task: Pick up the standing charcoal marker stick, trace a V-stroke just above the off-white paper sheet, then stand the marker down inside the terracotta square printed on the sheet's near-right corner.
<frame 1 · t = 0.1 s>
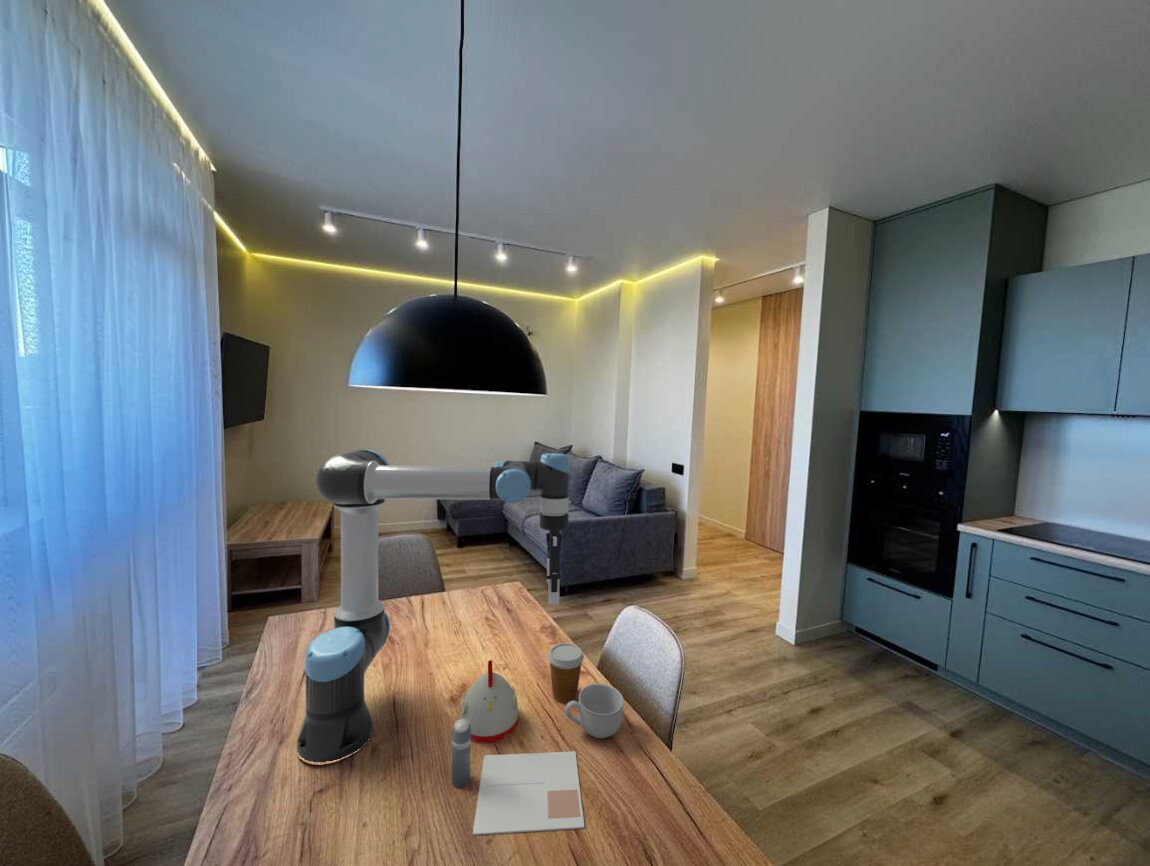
hand: (552, 592, 117), 28 cm above the table, fingers open, 13 cm apart
marker: (460, 780, 91), on the table
disposable coffee cup: (564, 696, 119), on the table
paper: (529, 789, 89), on the table
teacup: (593, 730, 106), on the table
kitchen timer: (489, 723, 108), on the table
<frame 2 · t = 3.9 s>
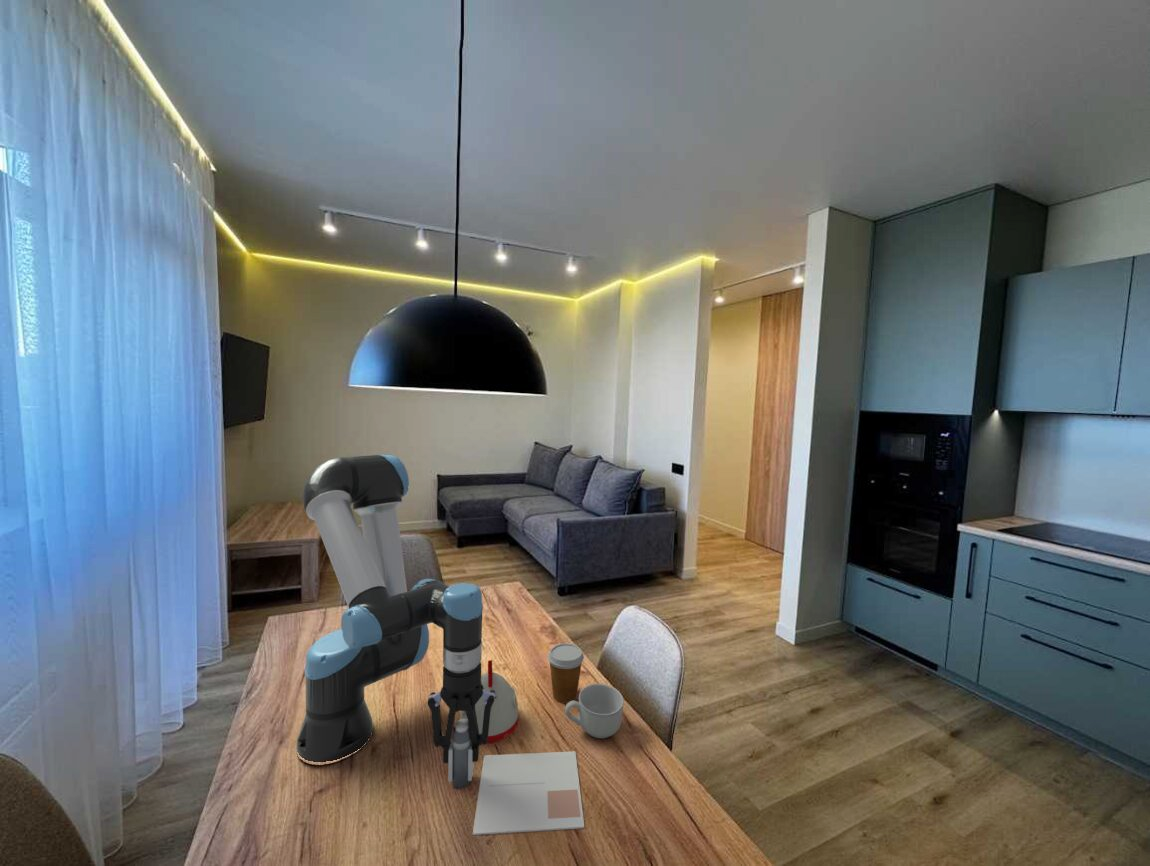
hand: (461, 775, 91), 1 cm above the table, fingers closed on marker, 3 cm apart
marker: (461, 780, 91), on the table, touching gripper
everything else where it was.
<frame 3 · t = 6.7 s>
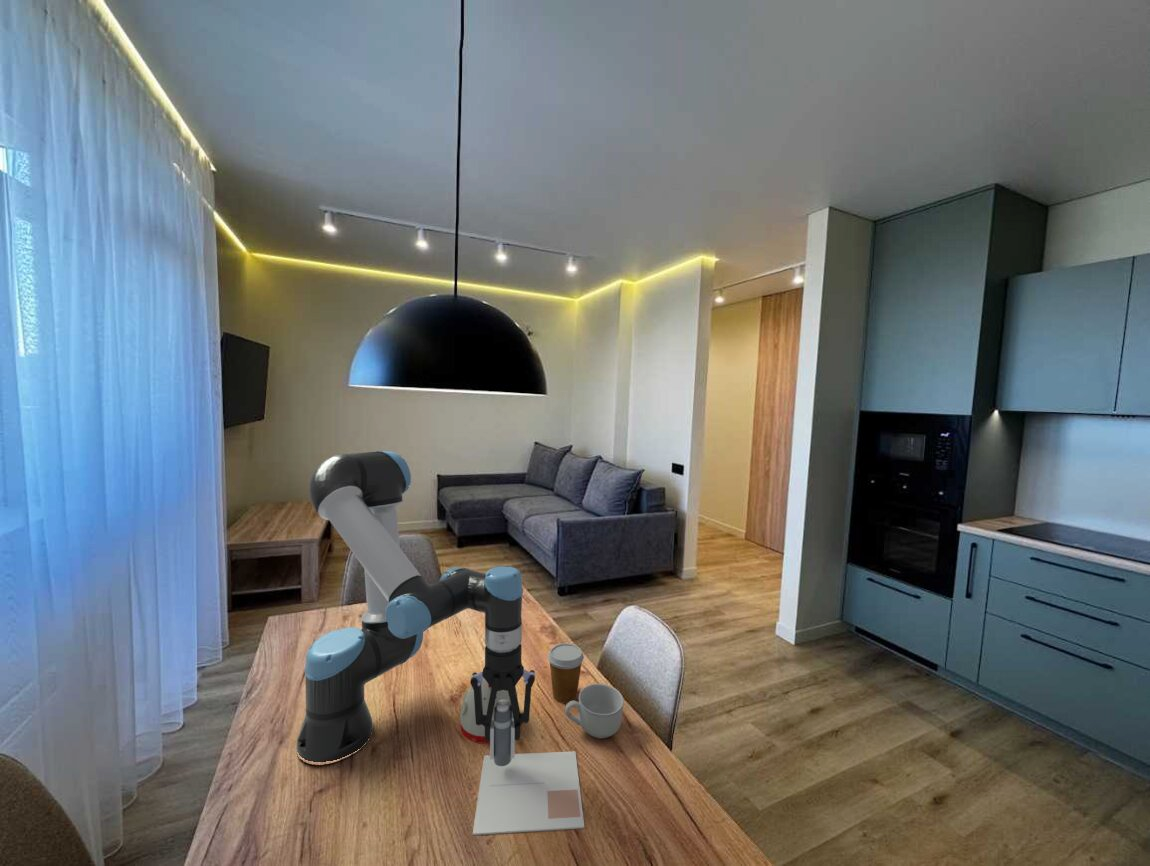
hand: (502, 753, 93), 4 cm above the table, fingers closed on marker, 3 cm apart
marker: (502, 759, 93), point 3 cm above the table, touching gripper
everything else where it was.
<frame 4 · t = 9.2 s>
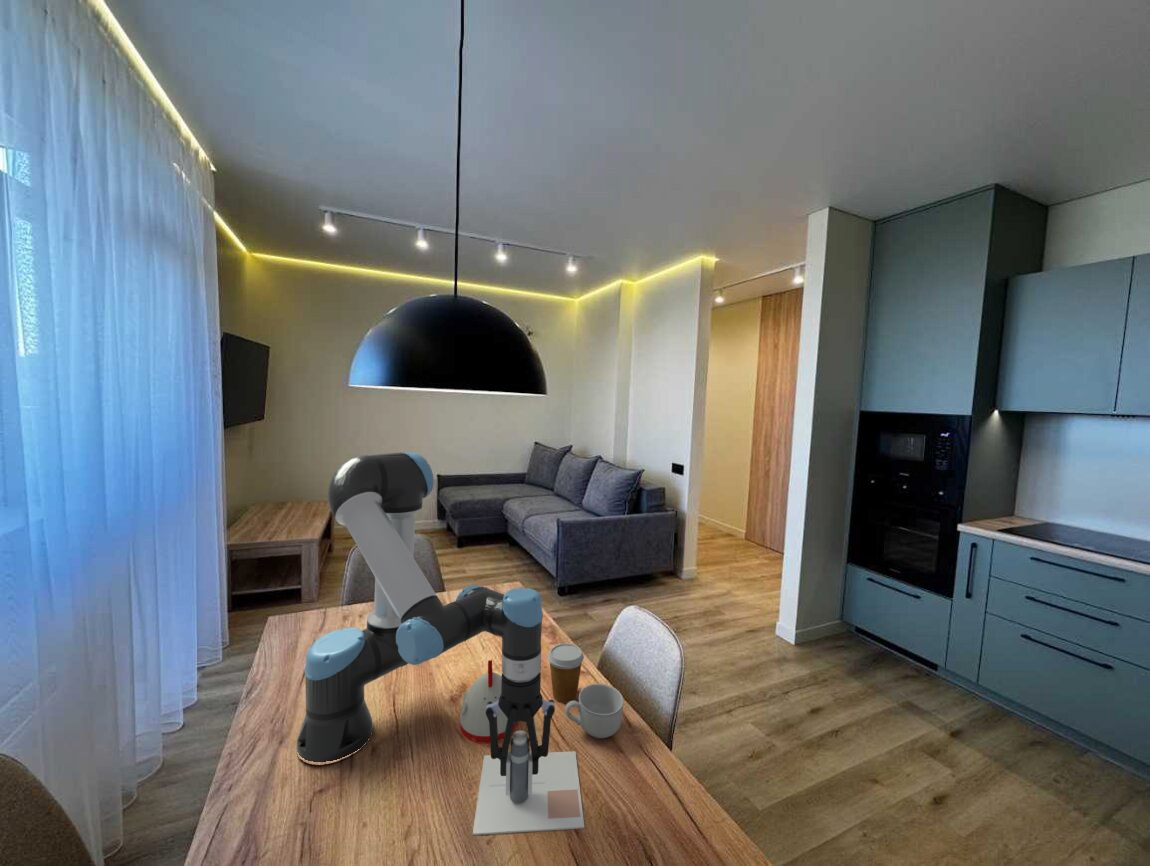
hand: (519, 788, 87), 2 cm above the table, fingers closed on marker, 3 cm apart
marker: (519, 795, 87), point 1 cm above the table, touching gripper
everything else where it was.
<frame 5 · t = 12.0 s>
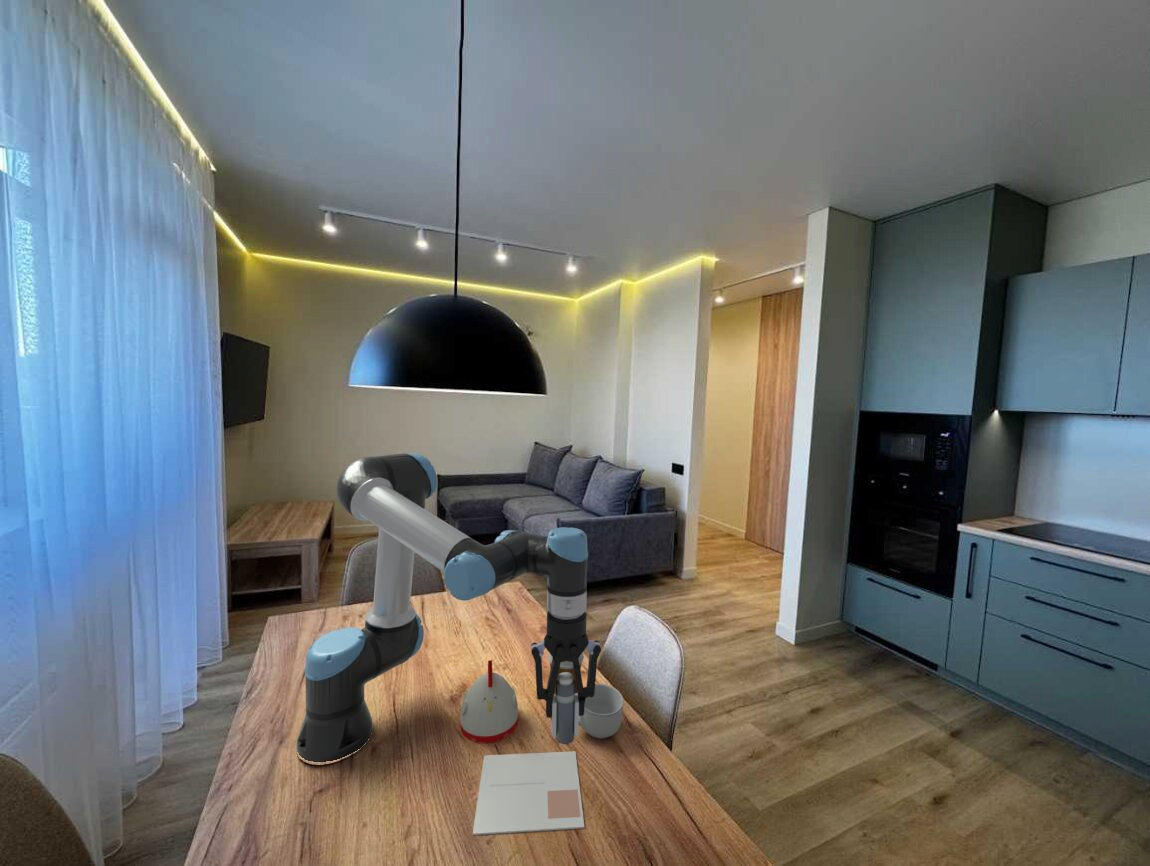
hand: (564, 731, 85), 14 cm above the table, fingers closed on marker, 3 cm apart
marker: (564, 737, 85), point 13 cm above the table, touching gripper
everything else where it was.
when the fingers open (2 cm above the table, at t = 14.5 s): marker stays where it is, resting on paper.
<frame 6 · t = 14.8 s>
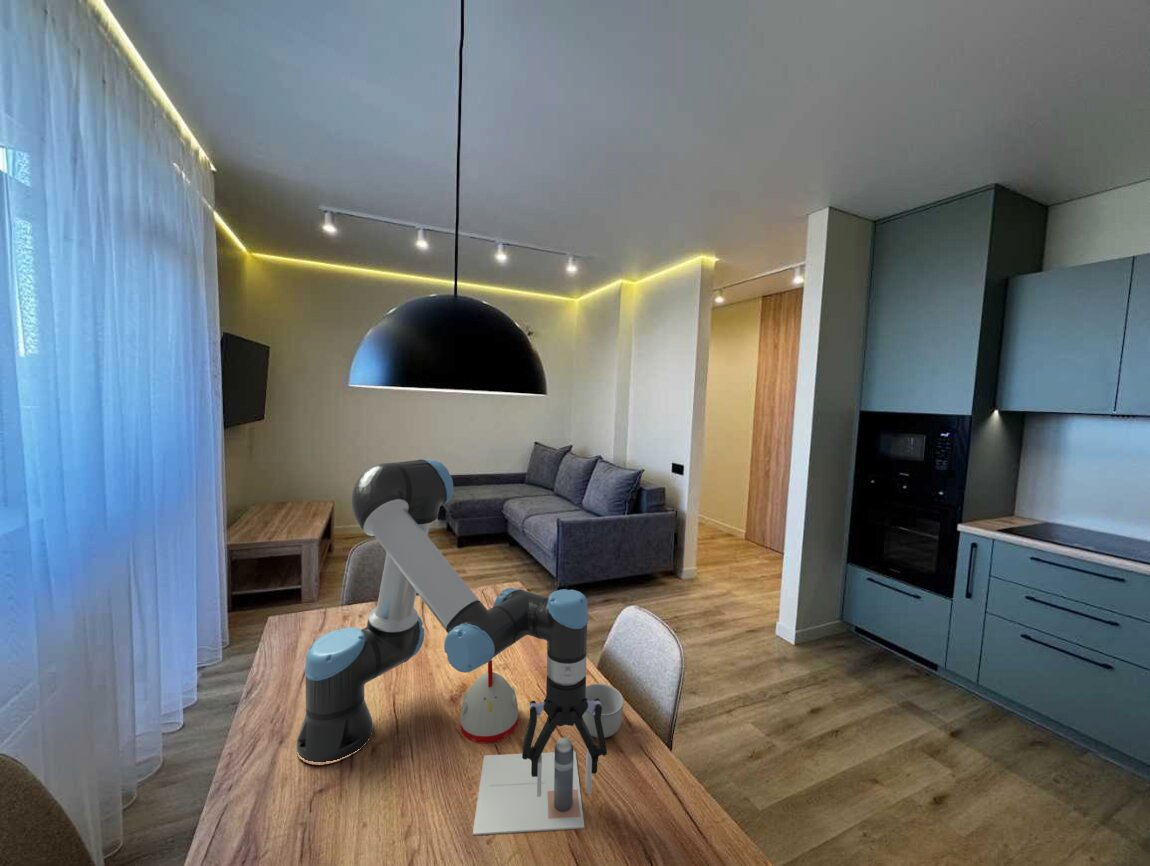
hand: (563, 789, 85), 3 cm above the table, fingers open, 9 cm apart
marker: (563, 803, 85), resting on paper
everything else where it was.
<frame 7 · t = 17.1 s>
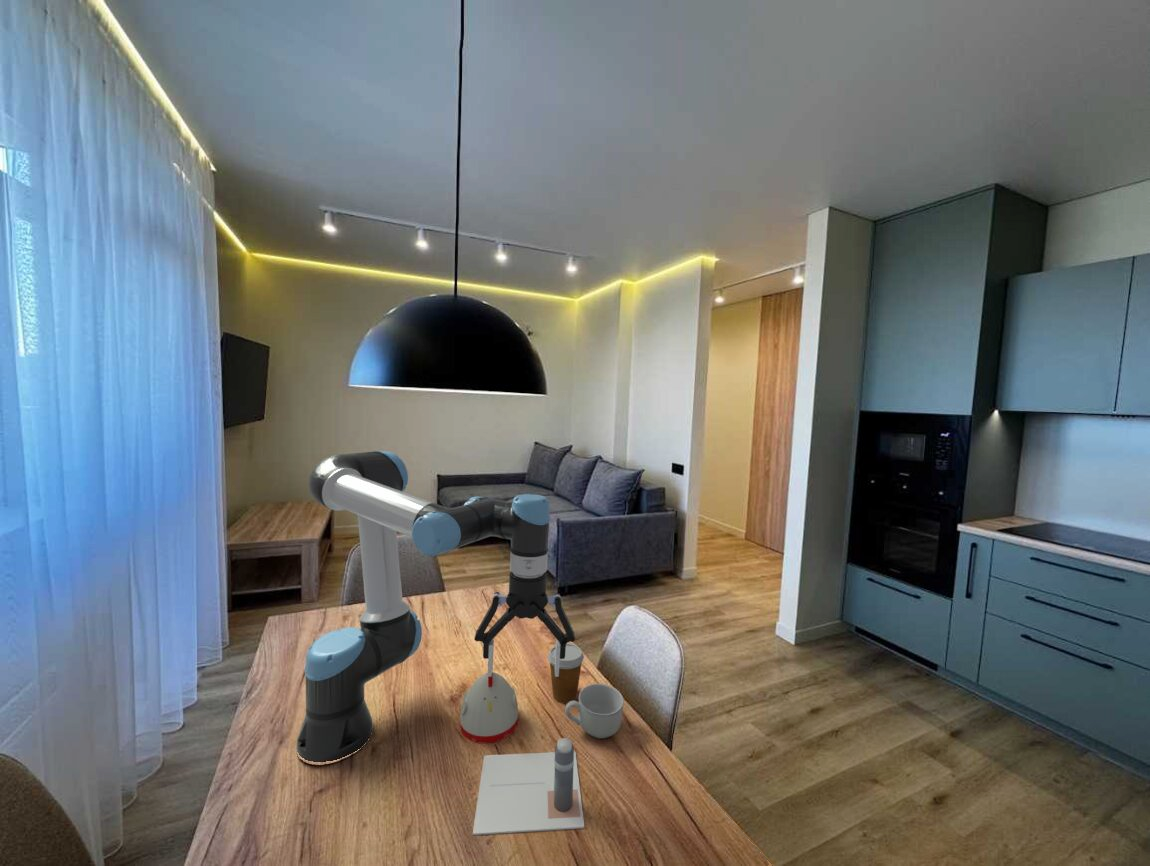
hand: (523, 672, 91), 22 cm above the table, fingers open, 13 cm apart
nothing on the table moved.
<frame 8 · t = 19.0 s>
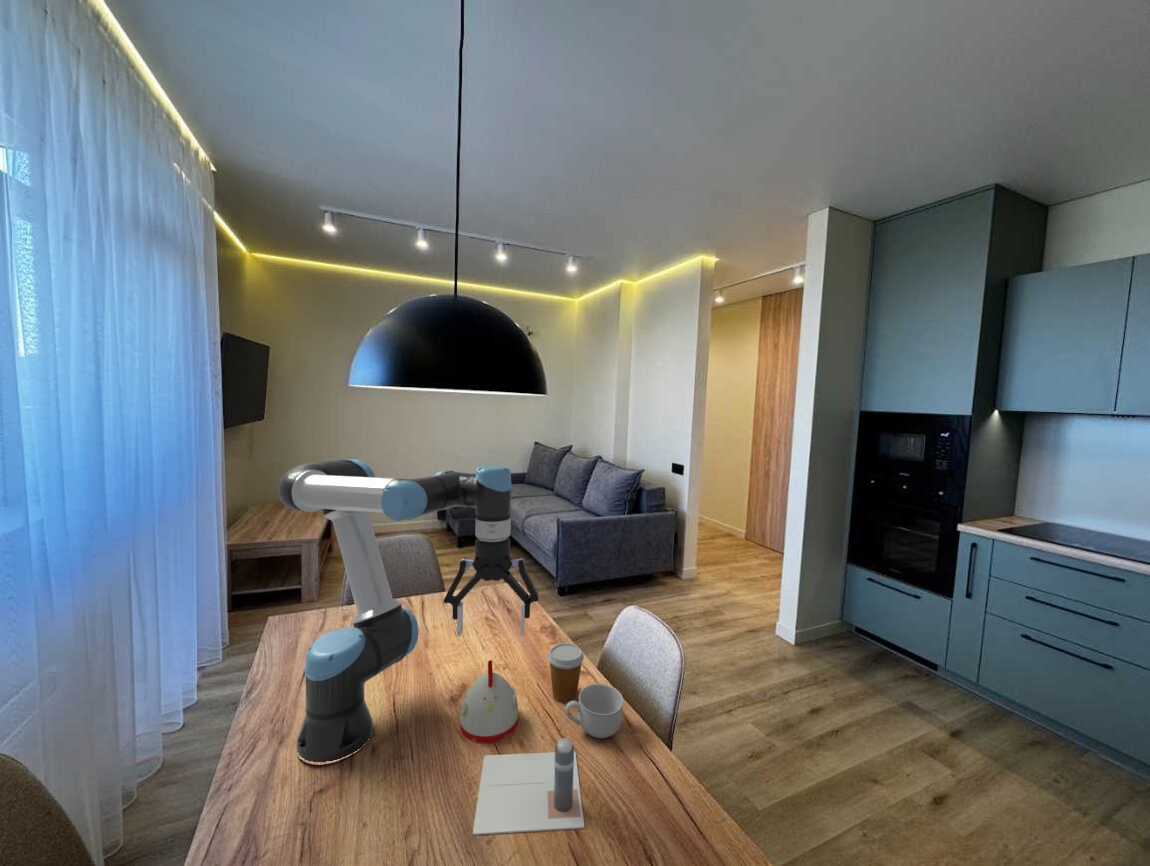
hand: (491, 632, 98), 27 cm above the table, fingers open, 13 cm apart
nothing on the table moved.
at the end: marker inside the target area on the paper (0.0 cm from its centre), point 0.3 cm above the paper's base; marker tilted 0°; the gripper is holding nothing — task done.
